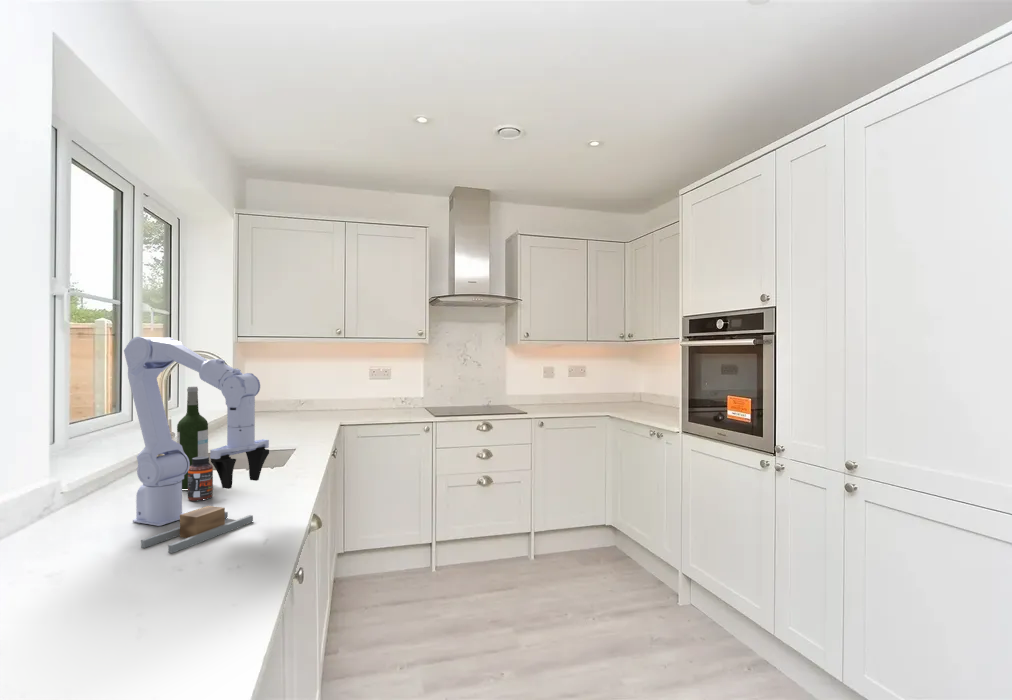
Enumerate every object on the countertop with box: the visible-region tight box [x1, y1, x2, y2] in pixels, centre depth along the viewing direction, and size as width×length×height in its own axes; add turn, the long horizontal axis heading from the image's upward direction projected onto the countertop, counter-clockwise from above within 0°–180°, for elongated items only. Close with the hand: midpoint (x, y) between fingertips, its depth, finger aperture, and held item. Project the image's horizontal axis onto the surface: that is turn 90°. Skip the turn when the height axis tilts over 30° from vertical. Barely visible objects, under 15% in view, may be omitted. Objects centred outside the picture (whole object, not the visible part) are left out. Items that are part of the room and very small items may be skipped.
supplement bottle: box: [187, 456, 214, 502], centre depth 141 cm, size 6×6×11 cm
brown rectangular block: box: [179, 505, 226, 539], centre depth 114 cm, size 5×7×5 cm
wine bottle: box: [176, 386, 209, 489], centre depth 153 cm, size 8×8×30 cm
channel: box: [140, 511, 254, 554], centre depth 114 cm, size 9×20×2 cm, turn 160°
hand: (241, 483), depth 120 cm, fingers open, 7 cm apart
